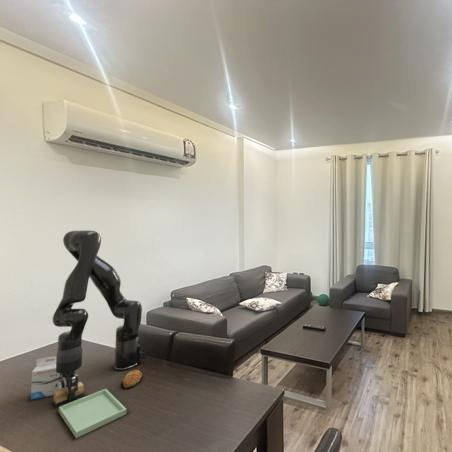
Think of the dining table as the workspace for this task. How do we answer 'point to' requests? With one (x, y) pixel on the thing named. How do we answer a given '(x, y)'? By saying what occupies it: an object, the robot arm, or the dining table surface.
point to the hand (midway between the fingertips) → (68, 397)
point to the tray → (91, 412)
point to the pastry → (132, 378)
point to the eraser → (61, 395)
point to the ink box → (45, 378)
